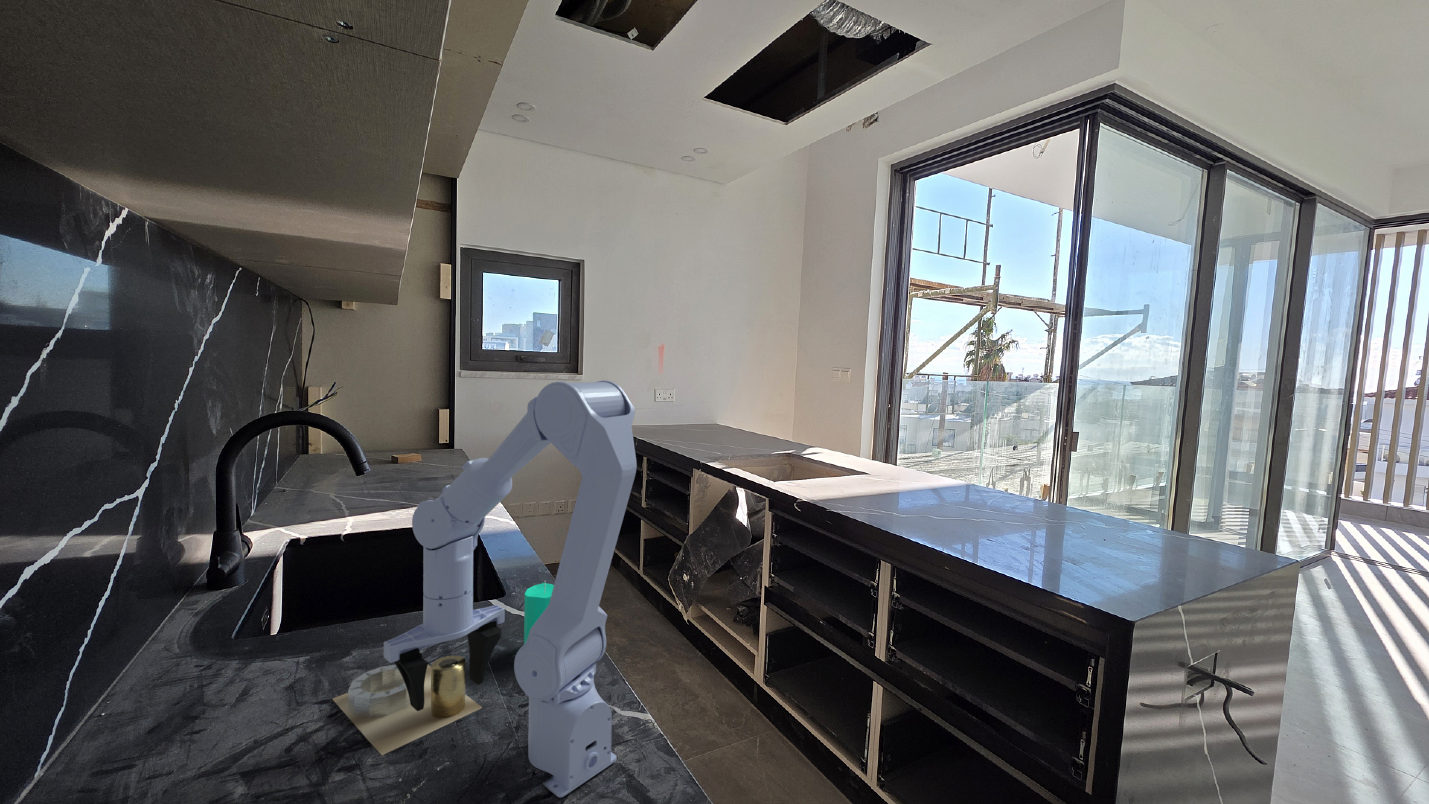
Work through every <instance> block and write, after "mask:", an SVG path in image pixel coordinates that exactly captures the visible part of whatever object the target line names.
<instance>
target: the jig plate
mask: <svg viewBox="0 0 1429 804" xmlns="http://www.w3.org/2000/svg"><path fill="white" fill-rule="evenodd" d="M394 688H396V687H390V688H383V689H380V690H378V691H375V692H373V693H378V692H384V691H389V690H391V689H394ZM332 701H333V702H334V704H336V705H337V706H338V708H339V709H340V710H341V711H342V713H344V714H345V716H346V717H347V718H348V719H349V720H350V722H352V723H353V725H354V726H355V727H356V728H357V730H358V731H359V732H360V733H361V734H362V735H363V736H364V738H365V739H366V740H367V741H368V742H369V743H370V744H371V745H372V747H374V748H375V749H374V750H376V751H377V752H378V753H379V754H380V755H381V756H384V755H387V754H388V753H390V752H392V751H395V750H397V749H398V748H400V747H404V746H406V745H407V744H410V743H411V742H414V741H416V740H418V739H420V738H422V737H424V736H426V735H428V734H431V733H434V731H437V730H438V729H441V728H443V727H445V726H447V725H450V724H452V723H453V722H455V721H458V720H460V719H462V718H464V717H467V716H469V715H471V714H473V713H475V712H477V711H479V710H481V709H483V707H482V706H481V705H480V704H479V703H477V702H476V701H475V700H473V699H472V698H471V697H469V696H468V695H467V694H466V693H465V708H464V709H463V711H461V712H460V713H459V714H457V715H455V716H452V717H448V718H436V717H434V716H432V715H431V665H429V664H428V666H427V670H426V675H425V682H424V708H423V709H422V710H420V711H417V710H415V709H414V708H413V707H412V706H411V704H410V705H409V706H407V707H406V708H404V709H402V710H399V711H397V712H394V713H392V714H390V715H385V716H379V717H373V718H365V717H359V716H354V715H353V714H352V712H351V711H350V710H349V709H348V692H346V693H344V694H341V695H338V696H336V697H333V698H332Z"/></svg>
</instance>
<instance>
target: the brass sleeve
mask: <svg viewBox="0 0 1429 804" xmlns="http://www.w3.org/2000/svg"><path fill="white" fill-rule="evenodd" d="M430 667H431V715H432V716H434V717H436V718H448V717H452V716H455V715H457V714H459V713H460V712H461V711H463V709H464V708H465V694H466V659H465V657H464V656H461V655H446V656H443V657H440V658H438V659H436V660H434V661H433V662H432V663H431V665H430Z"/></svg>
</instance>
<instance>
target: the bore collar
mask: <svg viewBox="0 0 1429 804" xmlns="http://www.w3.org/2000/svg"><path fill="white" fill-rule="evenodd" d="M390 687H396V688H394V689H391V690H389V691H384V692H378V693H373V692H375V691H378V690H380V689H383V688H390ZM347 693H348V709H349V710H350V711H351V712H352V714H353V715H354V716H359V717H365V718H373V717H379V716H385V715H390V714H392V713H394V712H397V711H399V710H402V709H404V708H406V707H407V706H409V705H410V698H409V694H408V691H407V688H406V685H405V682H404V680H403V678H402V676H401V674H400V672H399V670H398V668H397V666H396V665H395V664H392V665H385V666H380V667H375V668H374V669H371V670H368V671H366V672H363V673H362V674H361V675H359V676H358V677H356V678H355V679H353V680H352V681H351V683H350V685H349V688H348V691H347Z"/></svg>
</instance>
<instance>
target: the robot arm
mask: <svg viewBox="0 0 1429 804" xmlns="http://www.w3.org/2000/svg"><path fill="white" fill-rule="evenodd" d="M526 407H527V412H526V414H525V415H523V417H522V418H521V419H520V420H519V422H518V423H517V425H515V427H514V428H513V429H512V430H511V432H510V433H509V434H507V436H506V437H505V438H504V440H503V441H502V443H500V445H499V446H498V447H496V450H495V451H494V452H493V453H492V454H491V455H490V456H489V458H488V457H480V458H479V457H478V458H476V459H473V460H472V459H471V460H467V461H466V462H465V463H464V464H463V465H462V466H461V468H462V470H463V471H462V472H461V473H460V474H459V475H458V476H457V477H456V478H455V480H453V481H452V483H451V484H448V485H445V486H444V487H443V488H442V490H441V492H442V493H441V494H440V495H439V496H438V498H435V499H427V500H423V501H421V502H419V503H418V505H417V507H416V508H415V510H414V511H413V515H412V519H411V525H412V531H413V534H414V537H415V539H416V540H417V542H418V543H419V545H421V546H422V547H423V550H422V551H423V559H422V564H423V566H422V567H423V575H422V577H423V581H422V586H423V587H422V588H423V590H422V592H423V596H422V597H423V598H422V599H423V600H422V601H423V602H422V604H423V605H422V606H423V607H422V609H423V610H422V614H423V615H422V616H423V617H422V619H423V620H422V623H421V624H419V625H417V626H416V627H413V628H412V629H409V630H408V631H405V632H404V633H401V634H399V635H398V636H396V637H393V638H391V639H388V640H386V641H383V658H384V659H385V660H386V661H387V662H389V663H390V664H393V663H394V665H396V666H397V668H398V670H399V672H400V674H401V676H402V678H403V680H404V682H405V685H406V688H407V691H408V694H409V698H410V704H411V706H412V707H413V708H414V709H415V710H417V711H420V710H422V709H423V708H424V682H425V675H426V670H427V666H428V665H429V661H427V660H426V659H425V658H423V653H421V652H420V651H421V650H423V649H426V648H430V647H431V646H434V645H437V644H440V643H444V642H450V641H454V640H458V639H460V638H463V637H465V636H467V641H468V651H469V665H468V666H469V668H468V669H469V671H468V672H469V673H468V674H469V680H471V681H472V682H473V683H474V684H475V685H477V686H479V685H482V684H483V682H484V678H485V675H486V674H485V673H486V672H487V671H486V670H487V667H488V664H489V661H490V658H491V656H492V654H493V653H494V650H495V648H496V646H497V644H498V643H499V641H500V640H501V638H502V628H500V627H499V626H498V625H500V624H503V623H505V614H506V613H505V611H506V610H505V608H504V607H502V606H501V605H498V604H495V605H491V606H486V607H481V608H476V609H474V606H473V605H474V550H475V549H476V547H477V546H478V537H479V534H480V533H481V532H482V531H483V528H484V525H485V519H486V516H488V514H489V513H491V511H493V510H494V509H495V508H496V507H497V506H498V504H500V503H501V502H502V501H503V500H504V499H505V497H507V496H508V495H509V494H510V492H511V491H512V488H513V478H512V477H514V475H516V474H517V473H518V472H519V471H520V470H522V469H523V468H524V467H525V466H527V464H528V463H530V461H532V460H533V459H534V458H535V457H536V456H537V455H539V454H540V453H541V452H542V451H544V450H545V448H547V447H548V446H549V445H550V444H552V445H553V446H554V447H555V449H557V451H559V453H561V454H562V456H563V457H565V458H566V459H567V460H568V461H569V463H571V464H572V466H574V467H575V468H577V469H578V471H579V473H580V475H581V481H580V485H579V488H578V493H577V496H576V500H575V505H574V508H573V512H572V515H571V519H570V523H569V527H568V530H567V534H566V539H565V543H564V546H563V550H562V553H561V558H560V562H559V566H558V569H557V573H556V577H555V580H554V584H553V585H554V587H553V591H552V595H551V599H550V603H549V605H548V607H547V608H546V609H545V611H544V612H543V613H542V615H541V616H540V617H539V618H538V620H537V621H536V622H535V624H534V625H533V626H532V628H531V629H530V632H529V636H528V639H527V641H526V643H525V644H524V643H523V645H522V646H521V647H520V648H519V649H518V650H517V652H516V654H515V658H514V661H513V670H514V671H513V672H514V675H515V679H516V681H517V683H518V685H519V687H520V688H521V690H522V691H523V692H524V695H525V696H527V697H528V736H527V737H528V741H527V742H528V743H527V745H528V746H527V747H528V748H527V749H528V751H527V755H528V760H529V762H530V764H531V765H532V766H533V767H535V768H536V769H539V770H541V771H544V772H547V773H548V774H550V775H552V777H550V778H549V779H547V780H546V781H543V782H542V783H541V784H542V785H543V786H544V787H546V788H547V790H549V791H550V792H551V793H553V794H554V795H555V796H556V797H558V798H563V797H565V796H567V795H568V794H570V793H571V792H572V791H574V790H576V789H577V788H578V787H580V786H581V785H583V784H584V783H586V782H587V781H589V780H590V779H591V778H593V777H594V776H596V775H597V774H599V773H601V772H602V771H604V770H605V769H606V768H608V767H609V766H610V765H612V764H615V762H616V761H617V755H616V754H614V753H613V752H612V731H613V730H612V729H613V728H612V727H613V726H612V725H613V722H612V721H613V717H612V716H613V714H612V710H611V708H610V705H609V704H608V703H607V702H606V701H605V700H603V698H602V697H601V696H600V694H599V693H598V691H597V689H596V686H595V685H596V684H595V681H594V680H595V679H594V678H595V674H596V672H597V662H598V661H600V660H601V658H602V657H603V656H604V654H605V652H606V649H607V635H606V623H607V619H608V614H607V613H606V611H604V610H603V609H602V607H600V603H601V599H602V596H603V593H604V592H603V591H604V589H605V585H606V582H607V577H608V574H609V570H610V566H611V564H612V559H613V556H614V553H615V549H616V546H617V542H618V539H619V535H620V531H621V527H622V524H623V521H624V516H625V513H626V509H627V506H628V503H629V499H630V496H631V493H632V492H631V491H632V488H633V484H634V481H635V477H636V473H637V468H638V467H637V466H638V465H637V457H636V456H637V455H636V449H635V442H634V441H635V440H634V434H633V427H632V425H633V421H634V418H635V414H636V408H635V407H634V405H633V403H632V402H631V400H630V399H629V396H628V395H627V393H626V392H625V391H624V389H623V387H621V386H620V385H619V384H618V383H616V382H614V381H611V380H599V381H591V382H589V381H586V382H585V381H583V382H565V381H555V382H551V383H548V384H547V385H545V386H543V388H542V389H541V390H540V392H539V393H538V395H537V396H535V397H533V398H532V399H531V400H529V401H528V403H527V406H526Z"/></svg>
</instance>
